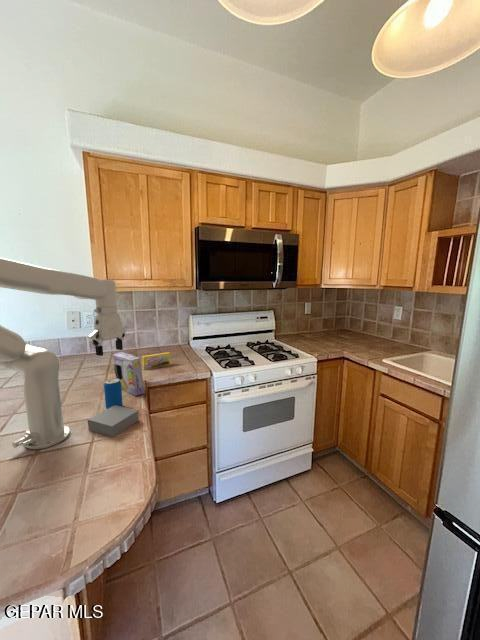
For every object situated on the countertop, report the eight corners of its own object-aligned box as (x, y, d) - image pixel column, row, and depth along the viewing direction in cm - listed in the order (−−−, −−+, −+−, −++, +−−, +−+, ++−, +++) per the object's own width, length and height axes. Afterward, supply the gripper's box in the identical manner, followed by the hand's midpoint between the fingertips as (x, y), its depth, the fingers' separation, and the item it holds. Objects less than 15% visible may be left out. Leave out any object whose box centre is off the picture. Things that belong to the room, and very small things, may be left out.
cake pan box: (115, 387, 136) (112, 353, 133) (124, 383, 140) (121, 350, 137) (134, 397, 124) (132, 360, 121) (144, 393, 128) (142, 357, 125)
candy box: (143, 370, 161) (142, 356, 159) (142, 369, 162) (142, 356, 161) (170, 365, 169) (169, 352, 168) (169, 364, 171) (168, 351, 170)
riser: (112, 437, 93) (111, 426, 92) (88, 429, 97) (87, 419, 97) (138, 420, 104) (137, 410, 103) (115, 414, 108) (114, 405, 108)
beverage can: (118, 402, 118) (116, 376, 117) (125, 407, 114) (123, 380, 113) (103, 408, 114) (100, 381, 112) (110, 413, 109) (107, 385, 108)
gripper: (94, 313, 99) (98, 358, 101) (130, 309, 114) (132, 348, 117) (80, 312, 102) (84, 356, 104) (117, 308, 117) (119, 346, 120)
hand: (109, 352), depth 110 cm, fingers open, 9 cm apart
